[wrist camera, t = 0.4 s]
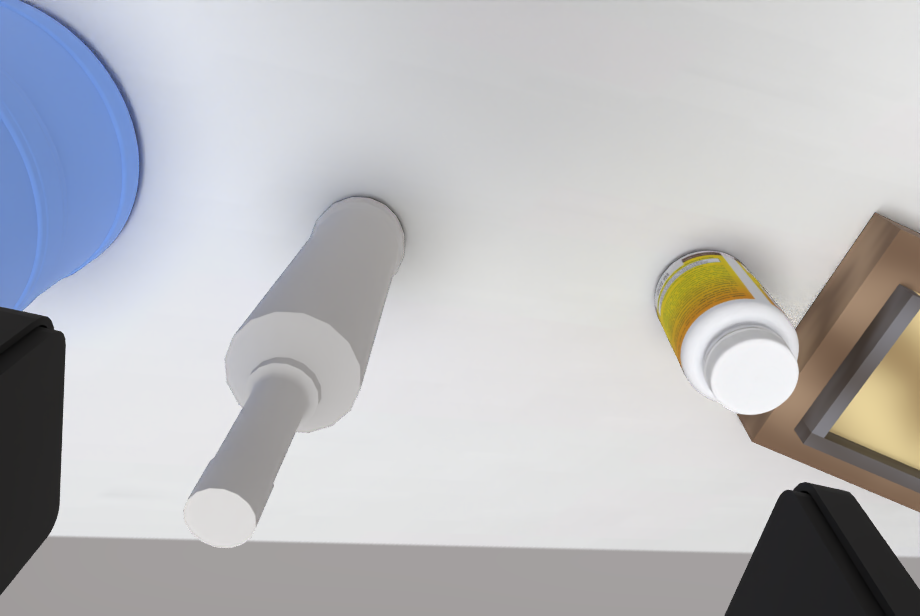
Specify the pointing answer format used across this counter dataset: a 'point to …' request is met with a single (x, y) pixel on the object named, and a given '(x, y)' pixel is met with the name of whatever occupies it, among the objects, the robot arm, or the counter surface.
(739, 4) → the counter surface
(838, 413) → the frame
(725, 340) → the supplement bottle
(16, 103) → the water jug
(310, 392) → the bottle
